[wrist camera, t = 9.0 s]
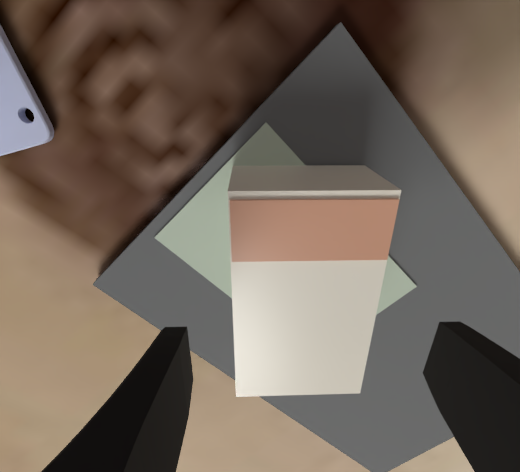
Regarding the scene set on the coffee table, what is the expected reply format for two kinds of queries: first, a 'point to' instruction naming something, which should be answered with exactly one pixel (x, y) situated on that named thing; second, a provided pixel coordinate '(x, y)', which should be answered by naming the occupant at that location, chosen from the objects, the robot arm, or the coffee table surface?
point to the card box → (306, 274)
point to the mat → (397, 268)
